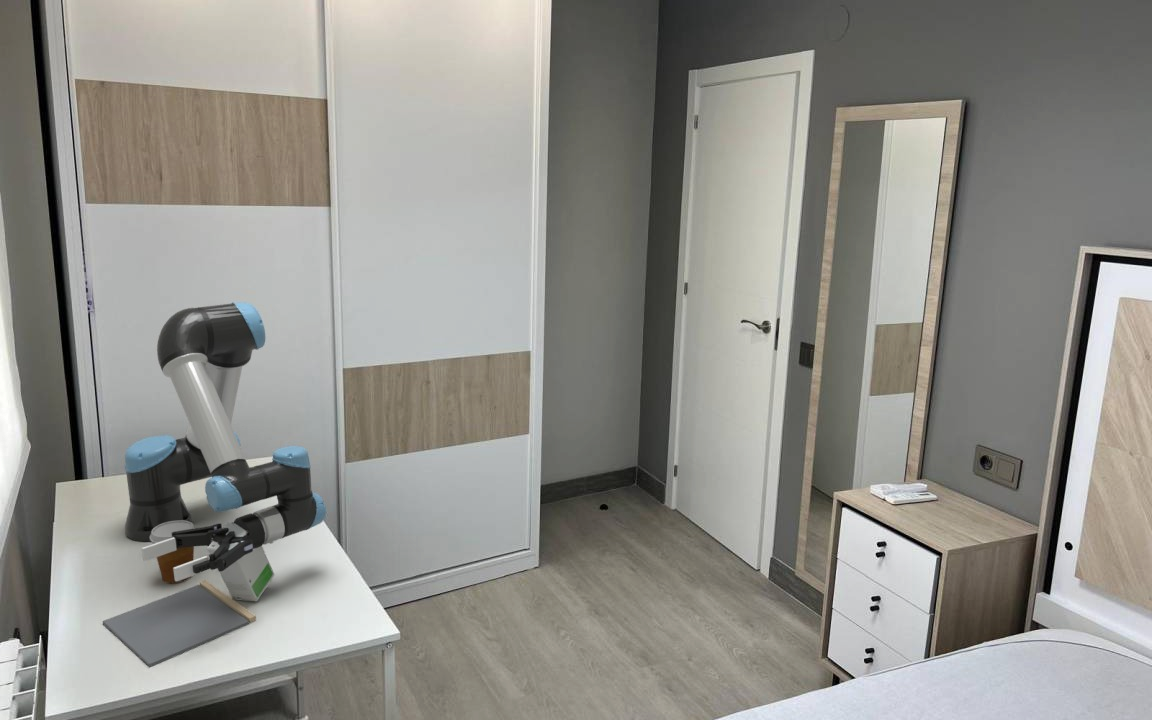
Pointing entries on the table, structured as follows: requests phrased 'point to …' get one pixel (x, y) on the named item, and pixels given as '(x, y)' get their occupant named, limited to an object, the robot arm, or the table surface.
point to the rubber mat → (178, 622)
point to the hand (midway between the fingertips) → (158, 564)
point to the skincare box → (245, 570)
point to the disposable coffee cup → (175, 557)
